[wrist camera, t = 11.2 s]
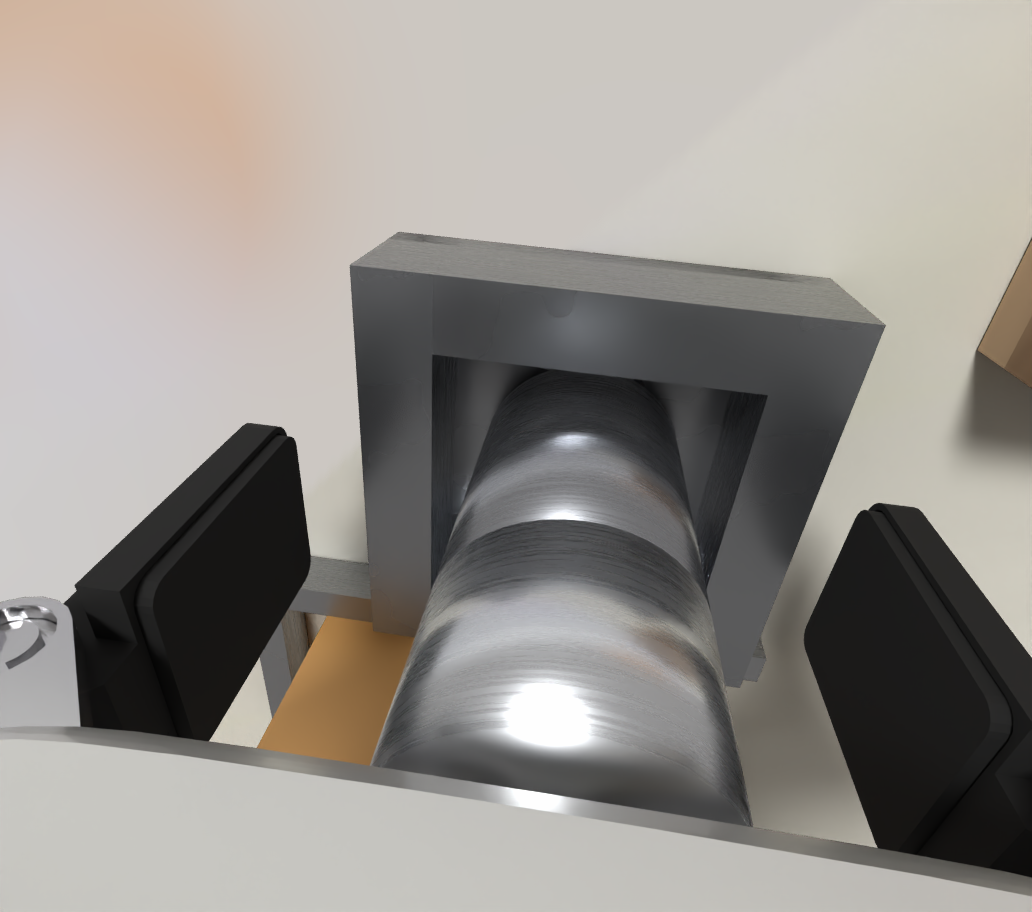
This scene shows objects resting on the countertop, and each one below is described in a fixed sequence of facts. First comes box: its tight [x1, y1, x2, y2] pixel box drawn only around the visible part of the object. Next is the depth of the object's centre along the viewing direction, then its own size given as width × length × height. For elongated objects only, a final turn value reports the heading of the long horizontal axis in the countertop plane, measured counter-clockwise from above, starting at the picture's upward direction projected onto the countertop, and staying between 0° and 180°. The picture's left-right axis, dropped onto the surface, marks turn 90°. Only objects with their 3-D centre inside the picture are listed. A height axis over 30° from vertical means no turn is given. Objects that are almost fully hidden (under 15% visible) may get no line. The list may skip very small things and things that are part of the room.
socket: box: [350, 232, 886, 688], centre depth 12 cm, size 8×8×3 cm
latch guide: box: [260, 556, 766, 718], centre depth 17 cm, size 13×7×1 cm, turn 86°
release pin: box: [257, 616, 414, 766], centre depth 15 cm, size 4×4×7 cm
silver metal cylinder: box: [370, 369, 753, 827], centre depth 10 cm, size 4×4×8 cm
